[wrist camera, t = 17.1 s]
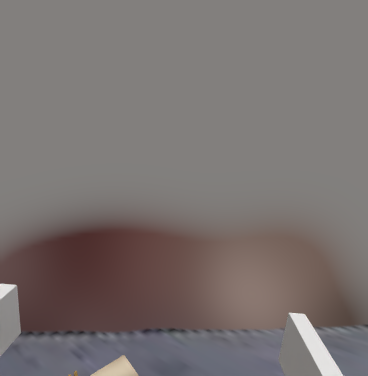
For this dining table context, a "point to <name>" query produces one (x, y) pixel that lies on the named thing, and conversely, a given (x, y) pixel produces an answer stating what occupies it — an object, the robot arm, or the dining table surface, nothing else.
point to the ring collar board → (117, 368)
